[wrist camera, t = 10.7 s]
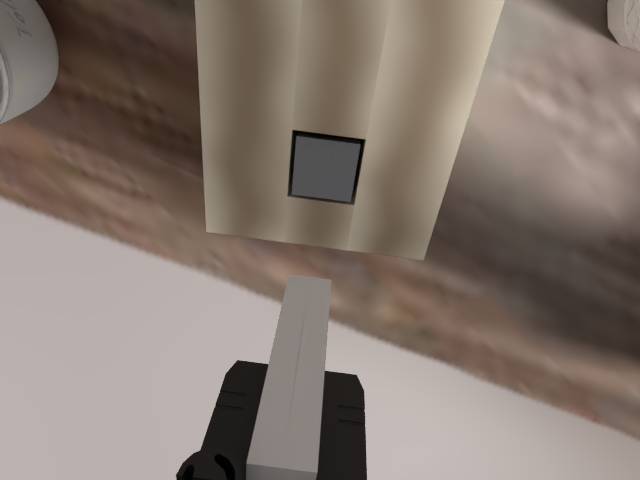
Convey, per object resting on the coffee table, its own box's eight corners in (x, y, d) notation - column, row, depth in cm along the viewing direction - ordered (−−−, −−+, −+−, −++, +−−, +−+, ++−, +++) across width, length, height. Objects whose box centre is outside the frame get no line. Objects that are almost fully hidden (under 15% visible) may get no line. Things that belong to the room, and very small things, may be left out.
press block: (512, -163, 22) (573, -221, 16) (411, 214, 35) (423, 260, 29) (227, -201, 22) (180, -274, 16) (230, 191, 35) (206, 231, 29)
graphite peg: (358, 118, 29) (360, 144, 24) (350, 168, 31) (350, 202, 26) (305, 111, 29) (296, 136, 24) (301, 161, 31) (291, 194, 26)
